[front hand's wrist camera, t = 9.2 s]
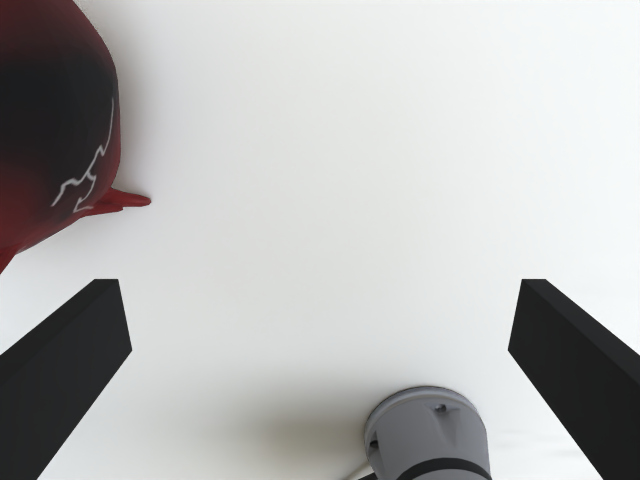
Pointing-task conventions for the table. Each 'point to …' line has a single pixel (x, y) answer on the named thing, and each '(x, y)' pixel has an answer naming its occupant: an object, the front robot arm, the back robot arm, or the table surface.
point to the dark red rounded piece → (55, 123)
